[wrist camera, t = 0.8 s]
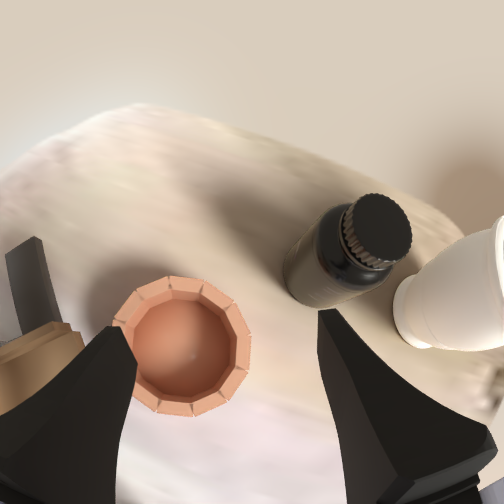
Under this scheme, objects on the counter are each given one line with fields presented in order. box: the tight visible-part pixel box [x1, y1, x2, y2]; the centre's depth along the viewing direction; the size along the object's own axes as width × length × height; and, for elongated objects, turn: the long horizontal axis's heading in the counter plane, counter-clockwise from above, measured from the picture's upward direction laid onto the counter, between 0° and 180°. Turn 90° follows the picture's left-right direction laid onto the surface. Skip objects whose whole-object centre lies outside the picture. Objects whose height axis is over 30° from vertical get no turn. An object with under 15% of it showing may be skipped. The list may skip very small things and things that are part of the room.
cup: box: [112, 276, 251, 417], centre depth 23 cm, size 10×10×4 cm
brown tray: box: [0, 236, 85, 415], centre depth 15 cm, size 14×14×4 cm
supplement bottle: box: [283, 193, 412, 308], centre depth 24 cm, size 7×7×12 cm
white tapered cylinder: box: [393, 216, 504, 351], centre depth 24 cm, size 11×10×15 cm
